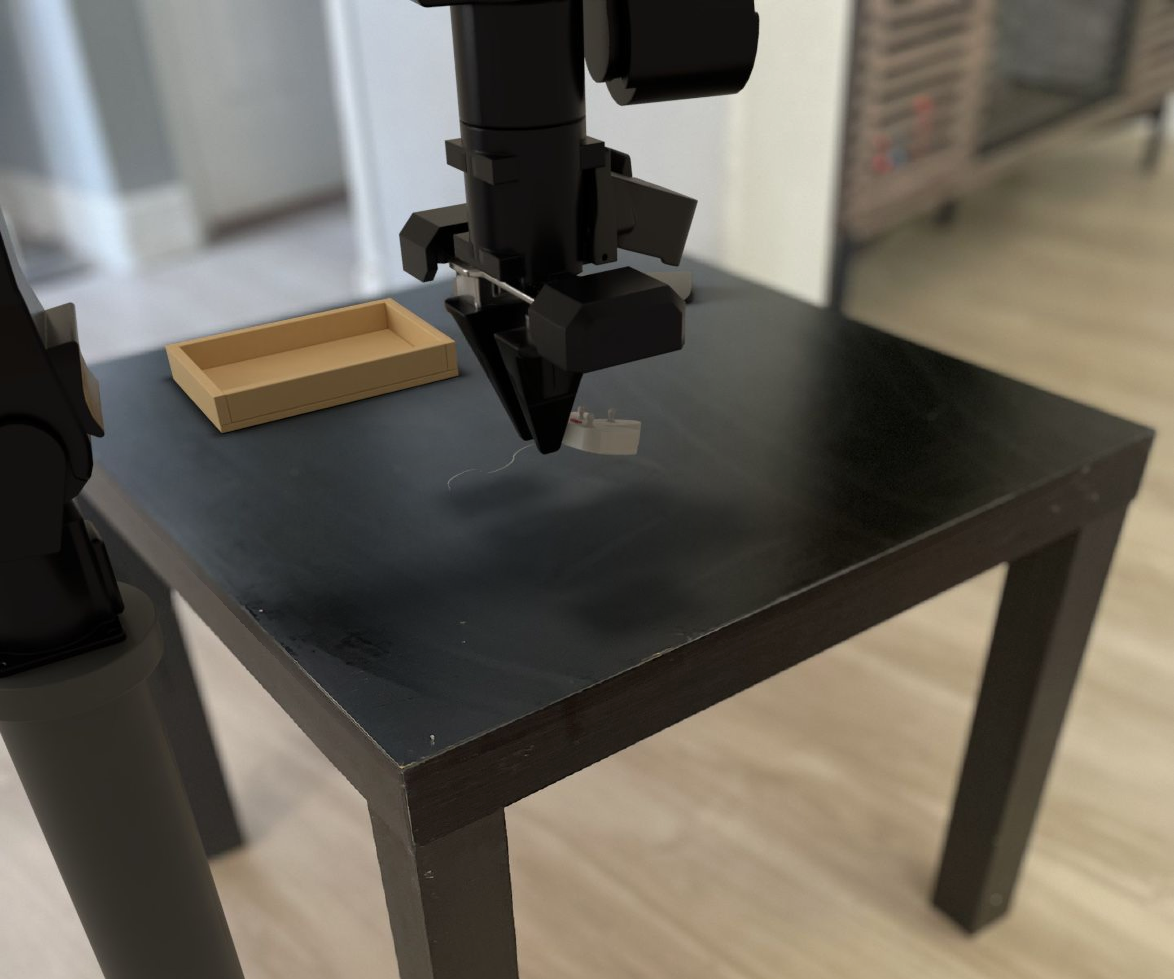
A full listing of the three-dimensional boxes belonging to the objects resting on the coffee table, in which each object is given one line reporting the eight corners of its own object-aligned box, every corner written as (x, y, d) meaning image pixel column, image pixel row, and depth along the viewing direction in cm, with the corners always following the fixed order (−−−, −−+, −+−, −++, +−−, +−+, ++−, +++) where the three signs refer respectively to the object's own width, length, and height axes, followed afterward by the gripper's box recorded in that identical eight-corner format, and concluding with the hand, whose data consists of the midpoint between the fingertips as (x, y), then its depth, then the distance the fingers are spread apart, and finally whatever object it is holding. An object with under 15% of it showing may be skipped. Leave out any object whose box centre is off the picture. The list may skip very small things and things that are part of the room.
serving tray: (221, 433, 81) (213, 397, 79) (173, 379, 89) (164, 345, 87) (459, 375, 88) (455, 340, 86) (394, 329, 95) (390, 297, 94)
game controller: (669, 447, 67) (668, 399, 65) (529, 510, 59) (524, 457, 58) (589, 433, 70) (586, 386, 68) (447, 491, 63) (441, 440, 61)
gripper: (794, 127, 51) (769, 472, 61) (573, 66, 64) (582, 360, 74) (566, 167, 47) (578, 530, 57) (377, 92, 60) (414, 401, 70)
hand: (540, 445), depth 65 cm, fingers closed on game controller, 2 cm apart
